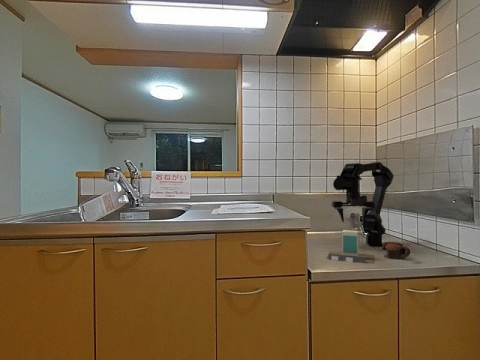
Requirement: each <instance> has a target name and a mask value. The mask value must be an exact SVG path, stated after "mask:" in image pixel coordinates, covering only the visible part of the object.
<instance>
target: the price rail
mask: <svg viewBox="0 0 480 360" xmlns="http://www.w3.org/2000/svg"><path fill="white" fill-rule="evenodd" d="M327 256H328V258H329V259H328V260H329V261H342V262H348V263H349V262H351V263H362V264H367V263H366V257H357V256H347V255H336V254H329V253H328V255H327Z"/></svg>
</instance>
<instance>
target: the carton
mask: <svg viewBox="0 0 480 360" xmlns="http://www.w3.org/2000/svg"><path fill="white" fill-rule="evenodd" d="M341 238H342V239H341V241H342V242H341V247H342V249H341V252H342V255H347V256H357V257H358V254H359V230H352V229H351V230H350V229H343V230H342V231H341Z"/></svg>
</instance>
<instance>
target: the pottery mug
mask: <svg viewBox="0 0 480 360" xmlns="http://www.w3.org/2000/svg"><path fill="white" fill-rule="evenodd" d="M381 251H386V254H383V258H385V259H388V260H389V259H390V260H398V261H399V260H405V259H406V258H408V257H409V256H410V255H411V249H410V248H409V247H407V246H404V245H403V243H400V242H398V241H397V242H396V241H385V242H383V246H381Z"/></svg>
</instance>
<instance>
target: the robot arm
mask: <svg viewBox="0 0 480 360" xmlns="http://www.w3.org/2000/svg"><path fill="white" fill-rule="evenodd" d="M365 172H371V176H372V177H373V181H374V184H375V189H374V193H373V196H372V200H368V196H367V195H361V192H360V181H362V180H363V179H362V177H360V175H362V174H364V173H365ZM393 179H394V173H393V172H392V171H391V169H390V168H388V167H387V166H385V165H384V164H383V163H382V162H380V161H373V162H369V163H359V162H356V163H355V162H354V163H345V164H344V166H343V169H342V171H341V173H340V174H339V175H336V178H335V179H334V180H333V184H332V185H333V188H334V189H335V190H336V191H345V195H346V197H345V198H346V200H345V202H343V201H341V200H332V201H331V207H332V208H334V209H335V210H336V211H337V212H338V214H339V217H340V220H341V222H342V223H344V222H345V221H344V220H345V219H344V208H343V207H360V208H361V222H362V224H361V225H362V228H363V232H364V233H366V234H365V244H366V245H368V246H369V247H383V246H384V244H383V235H385V234H386V228H385V227H384V225H383V219H382V216H381V212H382V207H383V203H384V200H385V194H386V192H387V188H389V186H391V184H392V182H393Z"/></svg>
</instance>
